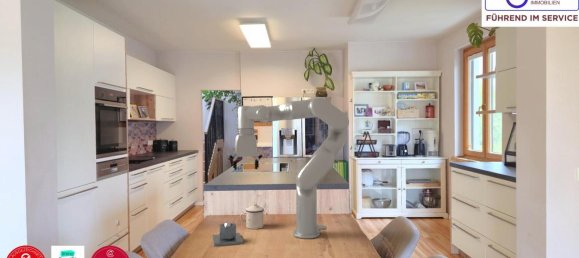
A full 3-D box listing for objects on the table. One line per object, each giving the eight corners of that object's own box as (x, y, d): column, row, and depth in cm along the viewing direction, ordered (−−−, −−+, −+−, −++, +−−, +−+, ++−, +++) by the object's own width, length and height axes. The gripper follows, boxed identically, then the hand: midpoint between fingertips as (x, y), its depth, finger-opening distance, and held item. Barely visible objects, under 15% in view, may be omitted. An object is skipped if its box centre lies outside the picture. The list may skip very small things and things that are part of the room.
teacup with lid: (264, 224, 170) (264, 201, 170) (263, 229, 161) (263, 205, 161) (240, 224, 170) (240, 201, 170) (239, 229, 161) (239, 205, 161)
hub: (234, 233, 148) (234, 222, 148) (236, 238, 142) (236, 226, 142) (219, 234, 146) (219, 223, 147) (220, 239, 140) (220, 227, 140)
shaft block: (239, 235, 152) (239, 218, 152) (243, 243, 140) (243, 225, 140) (212, 237, 148) (212, 220, 148) (214, 246, 137) (214, 227, 137)
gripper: (262, 132, 159) (262, 168, 159) (226, 132, 154) (226, 169, 154) (265, 132, 152) (265, 169, 152) (227, 132, 147) (227, 170, 147)
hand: (245, 169), depth 153 cm, fingers open, 9 cm apart
